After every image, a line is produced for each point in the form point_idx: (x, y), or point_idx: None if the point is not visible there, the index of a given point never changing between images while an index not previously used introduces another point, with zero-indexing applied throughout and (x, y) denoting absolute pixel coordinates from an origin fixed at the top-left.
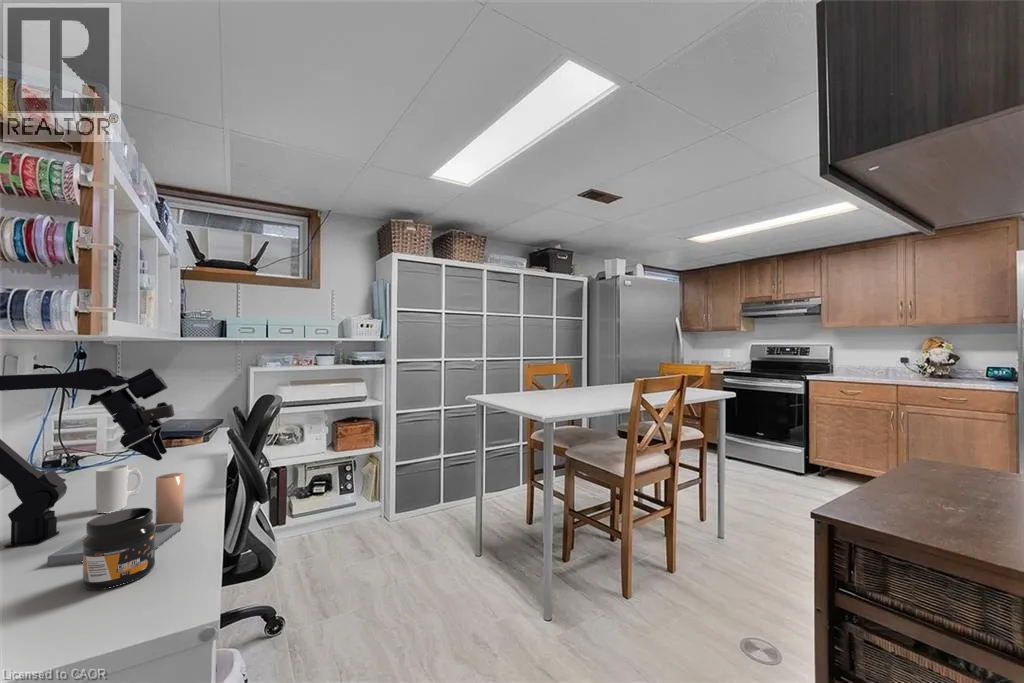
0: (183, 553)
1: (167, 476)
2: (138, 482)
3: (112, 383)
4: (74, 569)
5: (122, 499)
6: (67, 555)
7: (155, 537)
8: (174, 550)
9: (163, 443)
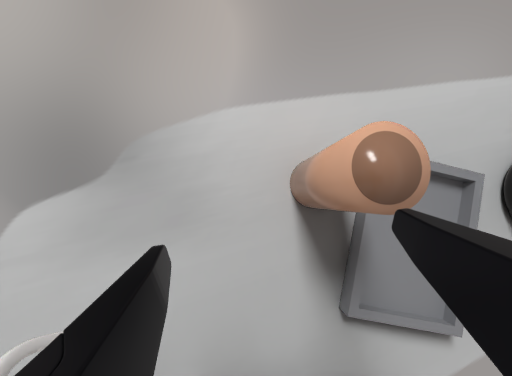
0: (485, 123)
1: (396, 174)
2: (32, 351)
3: None
4: None
5: None
6: None
7: None
8: (465, 140)
9: (103, 301)
